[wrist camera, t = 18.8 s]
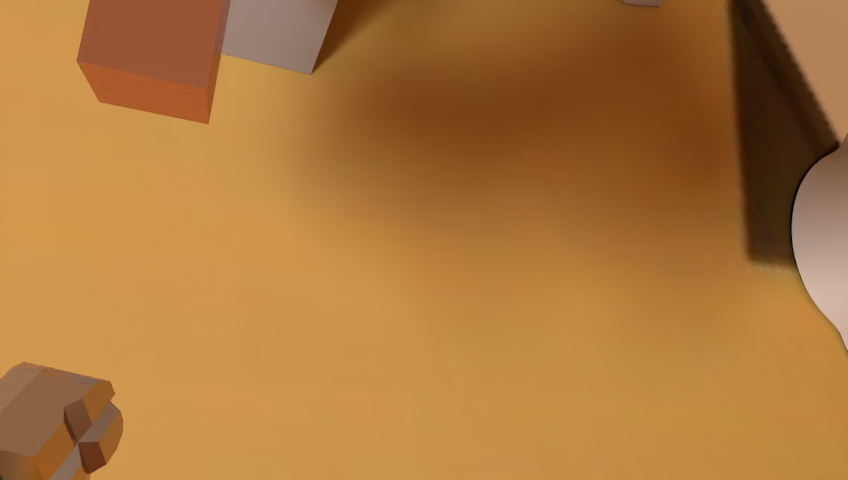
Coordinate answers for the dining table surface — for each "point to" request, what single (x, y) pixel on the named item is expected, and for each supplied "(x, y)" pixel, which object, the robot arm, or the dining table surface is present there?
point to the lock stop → (155, 54)
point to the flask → (644, 2)
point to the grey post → (278, 31)
